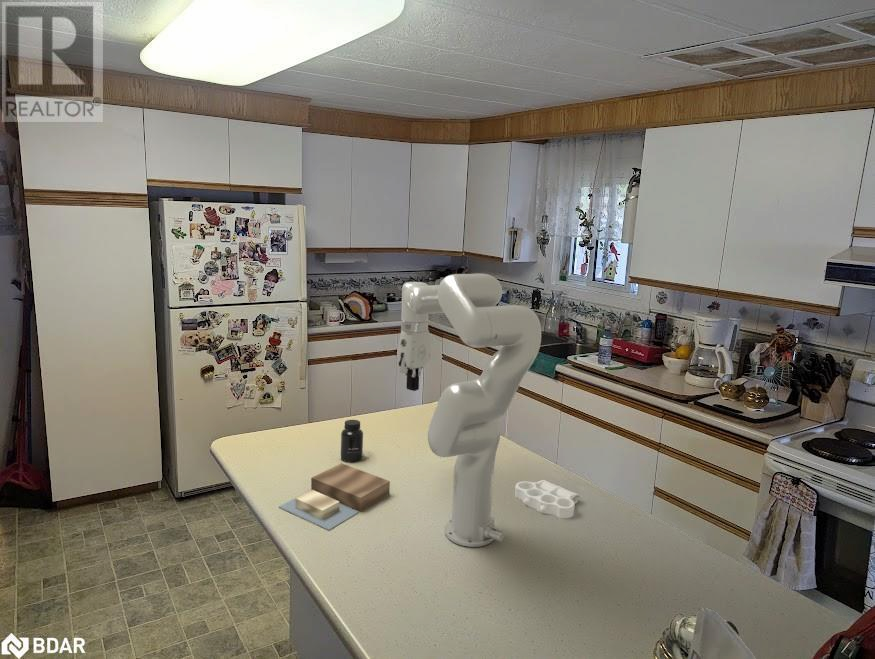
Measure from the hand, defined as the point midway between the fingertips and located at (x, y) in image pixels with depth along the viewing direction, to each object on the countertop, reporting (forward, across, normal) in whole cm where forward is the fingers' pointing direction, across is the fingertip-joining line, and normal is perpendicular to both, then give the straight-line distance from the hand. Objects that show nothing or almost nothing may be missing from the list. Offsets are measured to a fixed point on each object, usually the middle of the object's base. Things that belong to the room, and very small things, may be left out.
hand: (412, 389), depth 169 cm
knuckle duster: (+28, +12, -38) cm, 49 cm away
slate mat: (+27, -30, +7) cm, 41 cm away
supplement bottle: (+27, -1, +22) cm, 35 cm away
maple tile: (+26, -30, +7) cm, 40 cm away
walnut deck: (+27, -18, +7) cm, 33 cm away
